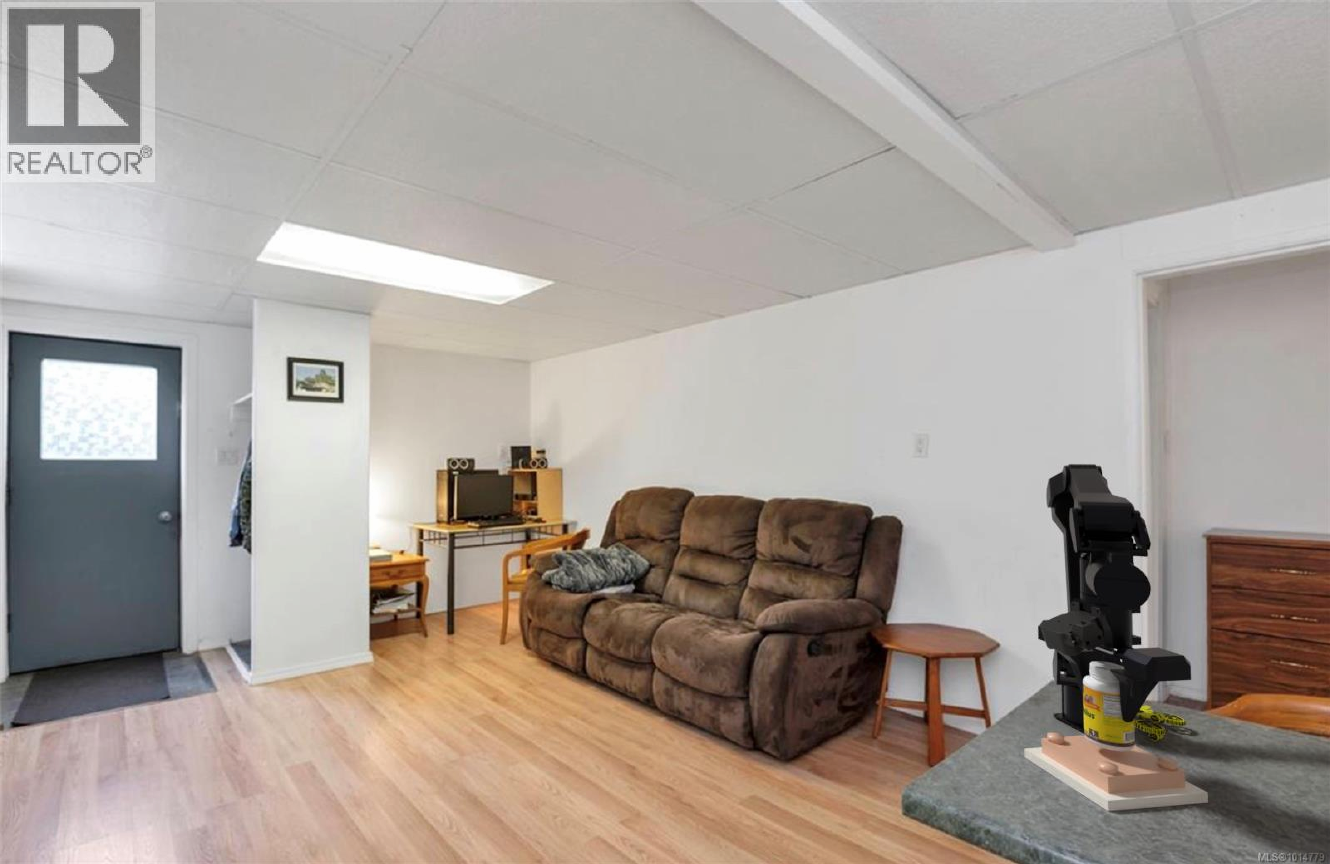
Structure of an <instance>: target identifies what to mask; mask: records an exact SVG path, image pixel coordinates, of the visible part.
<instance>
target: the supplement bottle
mask: <svg viewBox="0 0 1330 864" xmlns="http://www.w3.org/2000/svg"><path fill="white" fill-rule="evenodd" d="M1110 669H1123V667H1122V666H1120V665H1117V664H1114V663H1109V662H1101V661H1094V662H1091V663H1090V670H1089V672H1090V675H1088V676H1086V677H1084V679H1083V706H1084V732H1083V735H1085V737H1086V739H1087V740H1088V741H1089V742H1091V743H1092V744H1094V745H1096V746H1099V747H1101V748H1105V749H1109V750H1114V751H1128V750H1131V749H1133V748H1134V746H1136V744H1135V743H1136V738H1135V735H1136V734H1135V731H1136V729H1135V728H1136V727H1135V726H1134V720H1133V721H1132V722H1125V721H1123V718H1122V712H1121V702H1120V688H1119V681H1118V679H1117V678H1116V677H1115V676H1114V675H1113V674H1112V672H1111V671H1110Z"/></svg>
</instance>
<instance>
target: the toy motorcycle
mask: <svg viewBox="0 0 1330 864" xmlns="http://www.w3.org/2000/svg"><path fill="white" fill-rule="evenodd" d="M1164 724H1169V725H1173V726H1177V727H1186V726H1187V720H1186V719H1185V718H1183V717H1180V716H1178V715H1176V714H1173V713H1169V712H1163V711H1155V710H1152V707H1151V706H1148V705H1142V707H1141V709H1140V710H1139V712H1138V713H1137V715H1136V717H1135V718H1134V727H1135V728H1136V729H1138V730H1140V731H1143V732H1146V733H1149V734H1148V737H1149V740H1151V741H1153V742H1157V741H1159V740H1161V739H1163V738H1164V737H1165V736H1164V735H1166V732H1167V731H1166V728H1165V726H1164Z"/></svg>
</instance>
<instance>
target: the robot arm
mask: <svg viewBox="0 0 1330 864" xmlns="http://www.w3.org/2000/svg"><path fill="white" fill-rule="evenodd" d="M1045 498H1046V506H1047V508H1050V509H1051V510H1050V511H1051V519H1052V521H1053V522H1054V524H1055V525H1056V526H1057V527H1058V529H1059V530H1060V532H1061V533H1062V536H1063V552H1064V553H1063V554H1064V568H1065V570H1064V571H1065V585H1066V602H1067V603H1066V605H1067V612H1065V613H1061V614H1058V615H1056V616H1053V617H1052V618H1049V619H1043V620H1042V621H1041V622H1040V624H1038V626H1037V635H1038V636H1037V638H1038V639H1037V640H1039V641H1043V642H1045V645H1046V647H1047V648H1048V649H1050V650H1054V651H1053V657H1052V677H1053V679H1054V680H1053V681H1054V682H1055V684H1056V685H1057V686H1061V712H1055V713H1054V712H1053V718H1056V719H1058V720H1059V721H1061V722H1062V723H1065V724H1067V725H1069V726H1070V727H1073V728H1074V729H1076V730H1078V731H1080V732H1081V733H1084V706H1083V679H1084V677H1086V676H1088V675H1090V672H1089V670H1090V663H1091V662H1094V661H1101V662H1109V663H1114V664H1117V665H1120V666H1122V667H1123V669H1110V671H1111V672H1112V674H1113V675H1114V676H1115V677H1116V678H1117V679H1118V681H1119V688H1120V702H1121V712H1122V718H1123V721H1125V722H1132V721H1133V720H1134V718H1135V717H1136V715H1137V713H1138V712H1139V710H1140V709H1141V707H1142V706H1144V704H1145V702H1146V701H1147V699H1148V697H1149V695H1150V694H1151V693H1152V691H1154V689H1155V688H1156V686H1157V685H1158V684H1159V683H1160V682H1161V683H1162V682H1176V681H1177V682H1179V681H1192V664H1191V662H1190V661H1189V660H1188V659H1187V658H1186V656H1185V655H1183V654H1179V653H1177V652H1173V651H1171V650H1168V649H1164V648H1160V647H1158V646H1157V647H1141V648H1140V647H1139V648H1137V647H1135V648H1134V647H1133V646H1141V645H1142V637H1141V636H1139V635H1135V634H1134V626H1133V624H1134V623H1133V622H1134V620H1133V614H1141V609H1142V608H1141V607H1142V606H1144V605H1145V603H1146V602H1148V600H1149V598H1150V596H1151V592H1152V591H1151V590H1152V586H1151V582H1150V580H1149V578H1148V576H1147V575H1146V574H1145V573H1144V571H1143V570H1141V569H1140V568H1139V567H1138V566H1136V565H1135V562H1134V557H1142V558H1143V557H1145V558H1146V557H1147V558H1148V555H1149V552H1148V551H1150V549H1151V546H1152V542H1151V537H1150V536H1149V535H1150V534H1149V531H1148V528H1147V525H1146V521H1145V519H1144V518H1143V517H1142V516H1141V515H1142V514H1141V512H1140V510H1139V509H1138V510H1137V509H1135V506H1134V503H1132V502H1131V501H1130V500H1128V499H1127V498H1126V497H1122V496H1118V495H1115V494H1113V493H1112V491H1111V490H1110V488H1109V484H1108V479H1107V478H1105V477H1104V476H1103V469H1102V467H1101V465H1096V464H1095V463H1094V464H1092V463H1089V464H1088V463H1086V464H1085V463H1069V464H1068V465H1063V468H1062V471H1061V472H1059V473H1056V475H1053V476H1052V477H1049V479H1048V482H1047V486H1046V497H1045Z"/></svg>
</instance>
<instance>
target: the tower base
mask: <svg viewBox="0 0 1330 864" xmlns="http://www.w3.org/2000/svg"><path fill="white" fill-rule="evenodd" d="M1046 736H1047V737H1041V746H1039V747H1030V748H1029V747H1027V748H1025V747H1024V758H1025V759H1027V760H1029V761H1030V762H1031V763H1033V764H1034V765H1036V766H1037V767H1039V768H1040V769H1042V770H1044V771H1045V772H1047V773H1049V774H1050V775H1051V776H1053V777H1055V778H1056V779H1057V780H1059V781H1061V782H1062V783H1064V784H1065V785H1067V786H1068V787H1070V788H1071V789H1073V790H1074V791H1076V792H1077V793H1080V794H1081V795H1083V796H1084V797H1086V798H1087V799H1088V800H1090V801H1092V802H1093V803H1095V804H1097V805H1098V806H1099V807H1101V808H1102V809H1105V810H1106V811H1107V812H1113V811H1125V810H1136V809H1138V810H1139V809H1148V808H1160V807H1173V806H1182V805H1194V804H1208V803H1209V795H1208V794H1209V793H1208V792H1207V791H1205V790H1204V789H1202V788H1200V787H1197V786H1196V785H1194V784H1192V783H1190V782H1188V781H1186V770H1184V769H1182V768H1180V767H1179V764H1178V763H1179V762H1178V761H1176V760H1175V759H1174V758H1170V757H1168V756H1167V757H1166V756H1156V755H1155V754H1152V753H1151V752H1149V751H1146V750H1144V749H1142V748H1140V747H1138V746H1136V745H1134V748H1133V749H1131V750H1128V751H1114V750H1109V749H1105V748H1101V747H1099V746H1096V745H1094V744H1092V743H1091V742H1089V741H1088V740H1087V739H1086V737H1085V735H1084V734H1083V735H1070V736H1069V735H1068V736H1064V735H1063V734H1061V733H1058V732H1053V731H1051V732H1049V731H1048V732H1047V734H1046Z"/></svg>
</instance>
